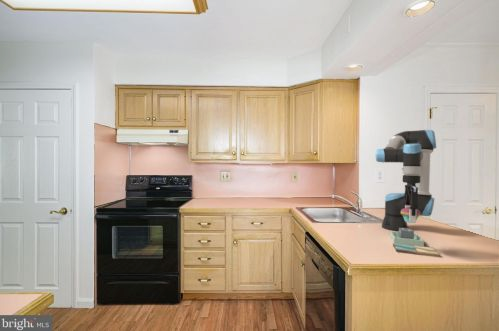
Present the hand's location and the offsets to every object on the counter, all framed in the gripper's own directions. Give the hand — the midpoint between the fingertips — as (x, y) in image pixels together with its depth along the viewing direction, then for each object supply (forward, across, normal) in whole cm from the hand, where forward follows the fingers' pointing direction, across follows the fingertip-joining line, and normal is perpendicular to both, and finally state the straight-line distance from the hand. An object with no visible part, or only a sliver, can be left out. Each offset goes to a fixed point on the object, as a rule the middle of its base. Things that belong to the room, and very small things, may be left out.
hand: (410, 220), depth 128 cm
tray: (+15, -15, +2) cm, 22 cm away
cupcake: (+1, 0, 0) cm, 1 cm away
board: (+15, 0, +2) cm, 15 cm away
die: (+15, -15, +2) cm, 21 cm away
